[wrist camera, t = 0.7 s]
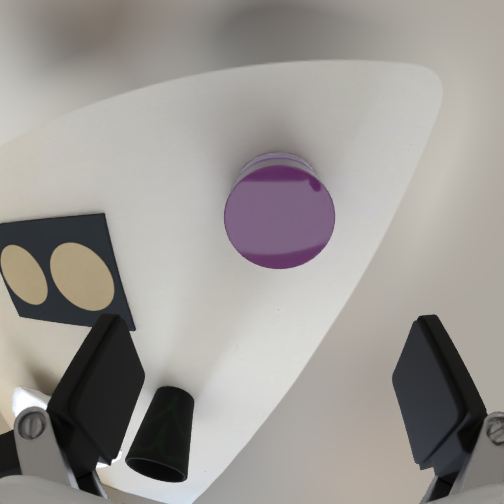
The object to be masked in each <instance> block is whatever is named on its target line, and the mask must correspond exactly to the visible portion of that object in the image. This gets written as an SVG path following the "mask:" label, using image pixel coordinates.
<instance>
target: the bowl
mask: <svg viewBox="0 0 504 504" xmlns="http://www.w3.org/2000/svg"><path fill="white" fill-rule="evenodd" d="M51 397H52V396H49V395H45V394H43V393H42V392H40V391H38V390H34V389H30V388H26V387H22V386H19V387H17V388H16V389H15V390H14V391H13V397H12V410H13V413H14V415H15V417H17V416H18V414H19V413H20V412H21V411H22V410H24V409H26V408H28V407H32V406H37V407H41V408H43V409H44V410H46V408H47V404H48V402H49V400H50V399H51ZM121 454H122V450H121V449H120V451H119V454H118V457H117V458H116V459H115V460H112V463H113V462H115V461H117V460H119V459H120V457H121ZM112 463H111V464H112ZM105 466H107V465H106V464H103V463H99V462H98V463H97V466H96V467H105Z"/></svg>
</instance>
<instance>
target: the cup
mask: <svg viewBox="0 0 504 504" xmlns="http://www.w3.org/2000/svg"><path fill="white" fill-rule="evenodd" d="M193 410H194V399H193V397H192V396H191V395H190V394H189V393H187V392H186V391H184V390H182V389H179V388H176V387H169V386H166V387H160V388H159V389H158V390H157V391H156V393H155V395H154V397H153V399H152V401H151V404H150V406H149V408H148V410H147V412H146V414H145V417H144V419H143V421H142V423H141V425H140V427H139V430H138V432H137V434H136V436H135V438H134V441H133V443H132V445H131V447H130V450H129V452H128V454H127V456H126V459H125V462H126V464H127V465H128V466H129V467H130V468H131V469H133V470H134V471H136V472H138V473H140V474H142V475H144V476H147V477H149V478H152V479H156V480H160V481H165V482H173V483H174V482H183V481H185V480H186V479H187V476H188V464H189V452H190V441H191V430H192V420H193Z"/></svg>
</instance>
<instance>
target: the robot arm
mask: <svg viewBox="0 0 504 504" xmlns="http://www.w3.org/2000/svg"><path fill="white" fill-rule="evenodd" d="M144 380H145V373H144V370H143V367H142V365H141V362H140V359H139V357H138V354H137V352H136V349H135V346H134V344H133V341H132V338H131V335H130V332H129V329H128V327H127V324H126V321H125V320H124V319H122V318H121V316H120V315H119V314H113V313H102V314H101V315H100V316H99V318H98V319H97V321H96V323H95V324H94V326H93V327H92V329H91V330H90V332H89V334H88V335H87V337H86V338H85V340H84V342H83V343H82V345H81V347H80V348H79V350H78V351H77V353H76V355H75V356H74V358H73V360H72V362H71V363H70V365H69V367H68V368H67V370H66V372H65V374H64V375H63V377H62V379H61V381H60V382H59V384H58V386H57V388H56V389H55V391H54V393H53V395H52V397H51V399H50V400H49V402H48V404H47V408H46V410H44V409H43V408H41V407H37V406H32V407H28V408H26V409H24V410H22V411H21V412H20V413H19V414H18V416H17V417H16V419H15V422H14V430H11V431H9V432H7V433H4V434H1V435H0V504H123V503H119V502H115V501H112V500H109V498H108V496H107V494H106V492H105V490H104V488H103V485H102V483H101V481H100V479H99V476H98V474H97V472H96V470H95V469H96V466H97V463H98V462H99V463H103V464H106V465H109V466H111V463H112V460H115V459H116V458H117V457H118V454H119V451H120V448H121V445H122V442H123V439H124V436H125V433H126V430H127V428H128V425H129V422H130V419H131V416H132V413H133V411H134V408H135V405H136V402H137V399H138V397H139V394H140V391H141V389H142V386H143V383H144ZM392 382H393V386H394V390H395V392H396V396H397V399H398V403H399V406H400V409H401V413H402V416H403V420H404V423H405V427H406V431H407V434H408V438H409V442H410V446H411V450H412V453H413V458H414V461H415V463H416V464H419V466H420V470H424V469H428V468H431V467H433V468H434V472H435V476H434V478H433V480H432V481H431V484H430V485H429V487H428V489H427V491H426V493H425V495H424V496H423V498H422V500H421V502H420V503H419V504H504V412H500V411H499V412H493V413H491V414H489V415H488V414H487V412H486V408H485V405H484V403H483V401H482V399H481V397H480V395H479V392H478V390H477V388H476V386H475V384H474V382H473V380H472V378H471V376H470V374H469V372H468V370H467V368H466V366H465V365H464V362H463V361H462V359H461V357H460V355H459V353H458V351H457V349H456V348H455V346H454V344H453V342H452V340H451V339H450V337H449V335H448V333H447V331H446V330H445V328H444V327H443V325H442V323H441V321H440V320H439V318H438V316H437V315H422V316H419V317H418V319H417V320H416V321H414V322H413V324H412V327H411V330H410V333H409V335H408V338H407V340H406V343H405V346H404V348H403V351H402V353H401V356H400V358H399V361H398V363H397V366H396V368H395V370H394V372H393V376H392Z"/></svg>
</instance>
